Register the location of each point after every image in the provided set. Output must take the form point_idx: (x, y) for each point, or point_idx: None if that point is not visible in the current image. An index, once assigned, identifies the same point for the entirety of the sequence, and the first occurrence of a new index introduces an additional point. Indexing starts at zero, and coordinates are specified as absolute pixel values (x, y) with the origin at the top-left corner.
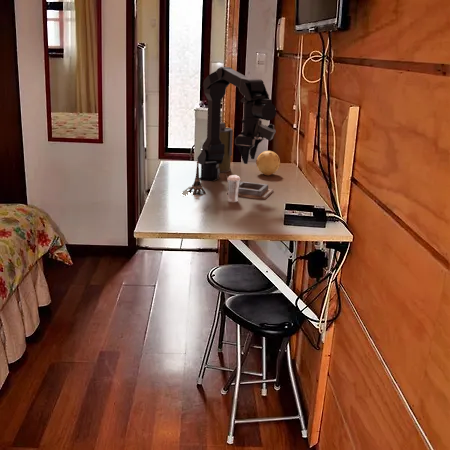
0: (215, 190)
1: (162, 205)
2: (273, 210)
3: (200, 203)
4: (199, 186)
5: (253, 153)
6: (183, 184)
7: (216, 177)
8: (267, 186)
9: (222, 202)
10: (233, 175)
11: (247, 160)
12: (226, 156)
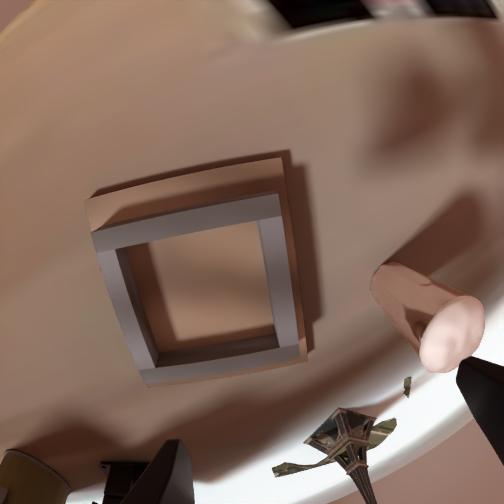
0: (267, 416)
1: None
2: (416, 62)
3: None
4: (358, 442)
5: (177, 498)
6: (261, 492)
7: (134, 469)
8: (111, 226)
9: None
10: (460, 351)
11: (500, 367)
12: (16, 494)
